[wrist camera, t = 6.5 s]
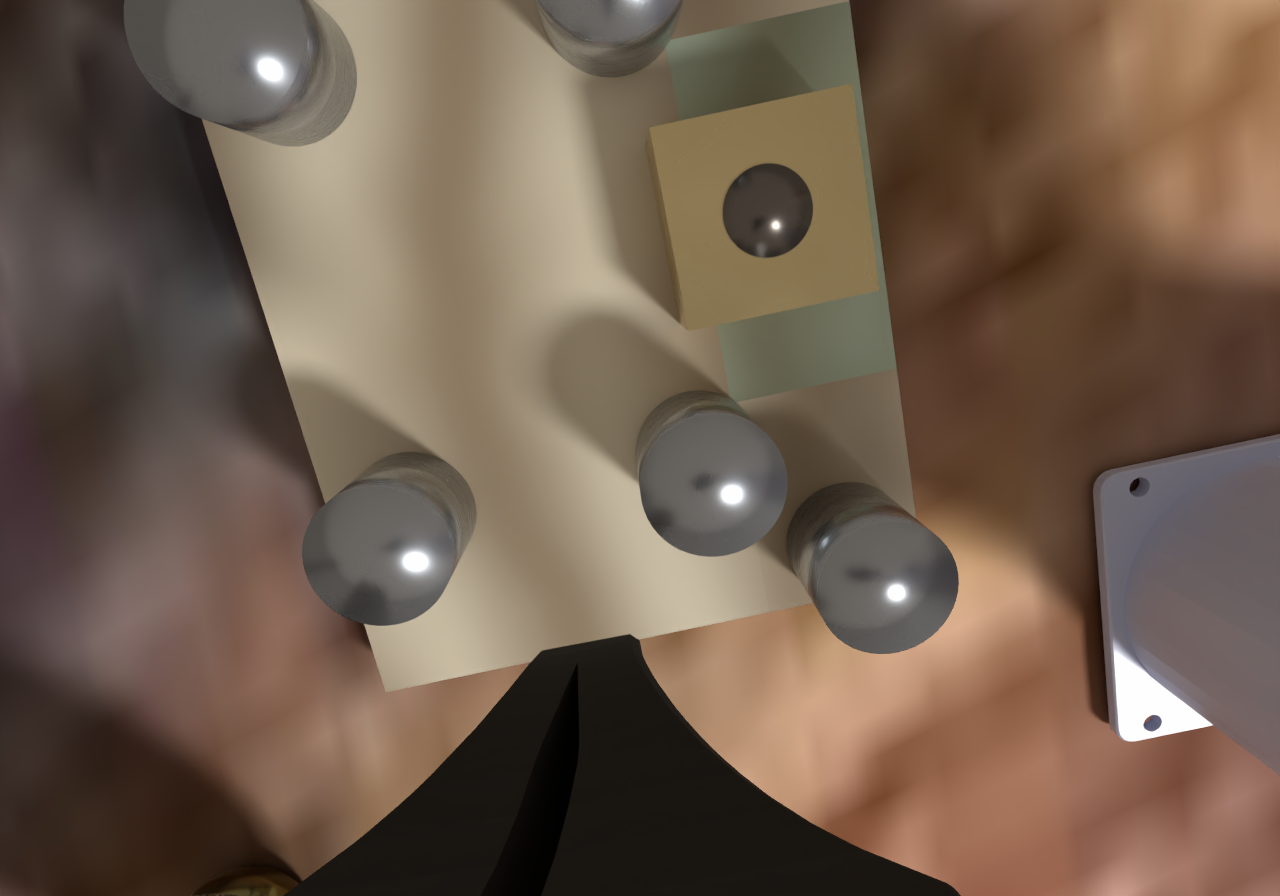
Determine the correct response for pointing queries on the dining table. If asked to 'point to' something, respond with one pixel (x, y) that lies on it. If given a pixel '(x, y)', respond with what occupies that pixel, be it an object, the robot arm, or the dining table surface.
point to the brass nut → (763, 207)
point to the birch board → (548, 313)
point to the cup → (248, 883)
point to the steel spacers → (671, 434)
